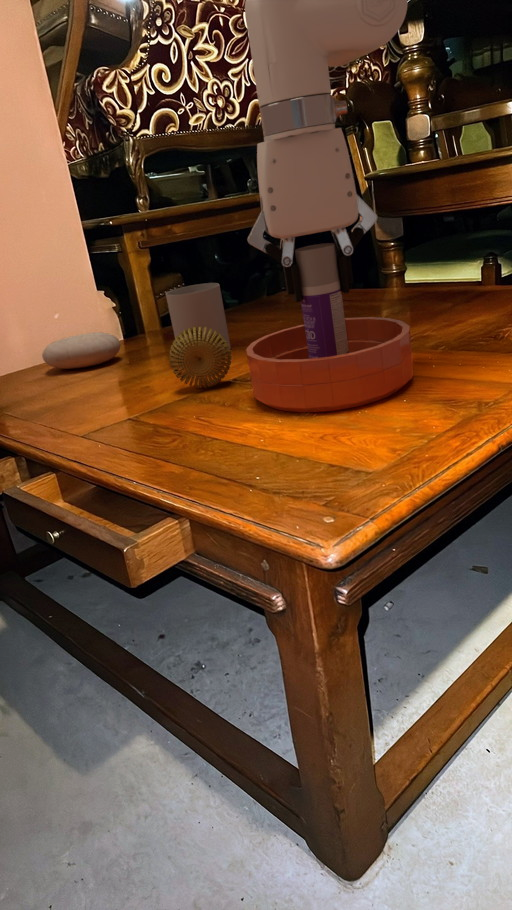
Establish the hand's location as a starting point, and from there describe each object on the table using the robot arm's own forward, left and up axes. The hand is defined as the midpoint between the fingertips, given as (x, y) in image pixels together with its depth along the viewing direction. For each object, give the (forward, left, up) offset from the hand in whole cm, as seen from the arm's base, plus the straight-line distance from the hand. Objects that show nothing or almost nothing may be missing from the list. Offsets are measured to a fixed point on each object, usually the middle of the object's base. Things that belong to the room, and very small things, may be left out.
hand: (320, 293), depth 79 cm
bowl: (0, +2, -11) cm, 11 cm away
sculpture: (+15, -8, -11) cm, 21 cm away
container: (0, 0, -10) cm, 10 cm away
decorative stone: (+35, -34, -11) cm, 51 cm away
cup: (+15, -28, -11) cm, 34 cm away
